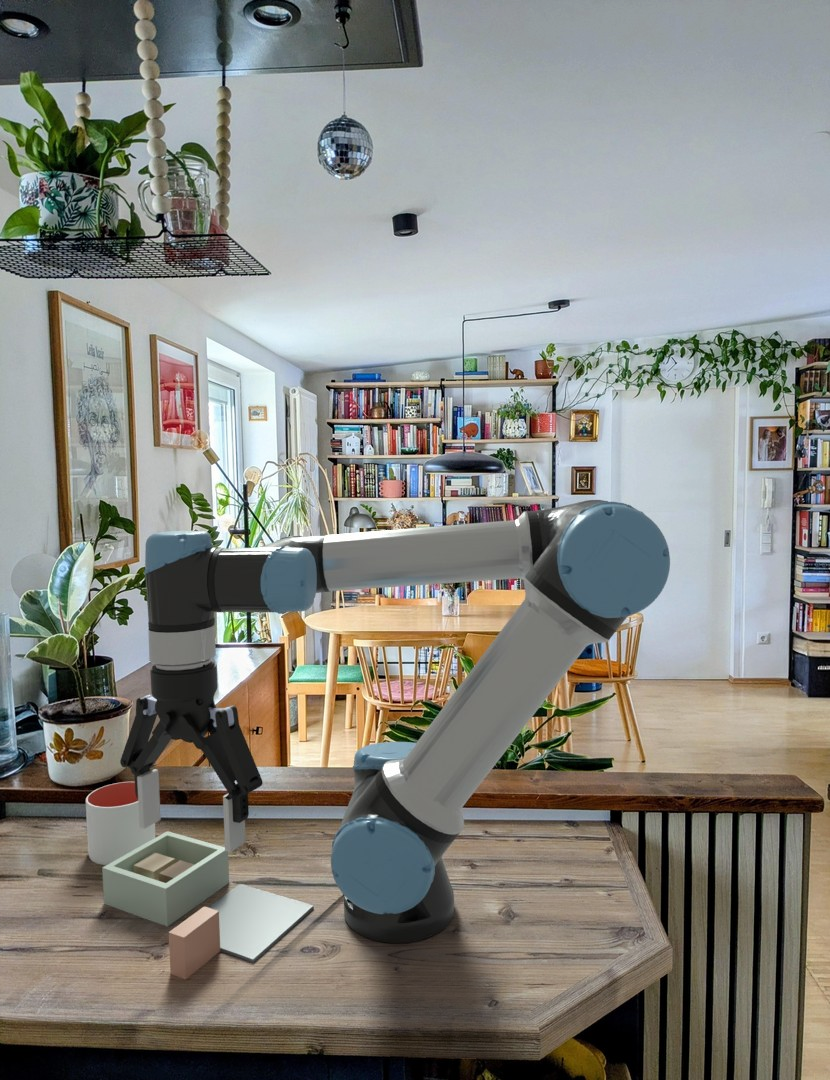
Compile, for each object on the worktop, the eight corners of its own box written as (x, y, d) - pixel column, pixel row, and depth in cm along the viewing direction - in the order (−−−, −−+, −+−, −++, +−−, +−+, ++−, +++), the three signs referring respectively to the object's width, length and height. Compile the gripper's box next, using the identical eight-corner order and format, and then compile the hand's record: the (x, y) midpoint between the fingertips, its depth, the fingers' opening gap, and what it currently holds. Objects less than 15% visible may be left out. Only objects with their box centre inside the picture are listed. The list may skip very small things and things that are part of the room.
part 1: (175, 885, 110) (174, 858, 110) (154, 898, 106) (153, 871, 106) (155, 878, 112) (154, 852, 111) (134, 891, 108) (133, 865, 108)
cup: (133, 873, 115) (130, 810, 114) (74, 867, 117) (71, 805, 116) (167, 842, 125) (165, 783, 124) (113, 837, 127) (110, 779, 126)
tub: (229, 887, 111) (228, 848, 110) (167, 932, 100) (165, 888, 99) (169, 868, 116) (167, 831, 116) (104, 908, 106) (102, 867, 105)
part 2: (202, 893, 108) (200, 866, 107) (181, 907, 104) (180, 880, 104) (181, 886, 109) (179, 860, 109) (160, 900, 106) (158, 873, 106)
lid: (313, 915, 104) (312, 871, 103) (220, 1000, 87) (217, 949, 87) (240, 892, 110) (239, 851, 109) (139, 969, 93) (137, 921, 92)
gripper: (288, 664, 87) (294, 842, 89) (132, 645, 98) (140, 803, 100) (246, 681, 80) (253, 872, 82) (83, 658, 92) (93, 827, 94)
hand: (191, 835), depth 91 cm, fingers open, 13 cm apart
